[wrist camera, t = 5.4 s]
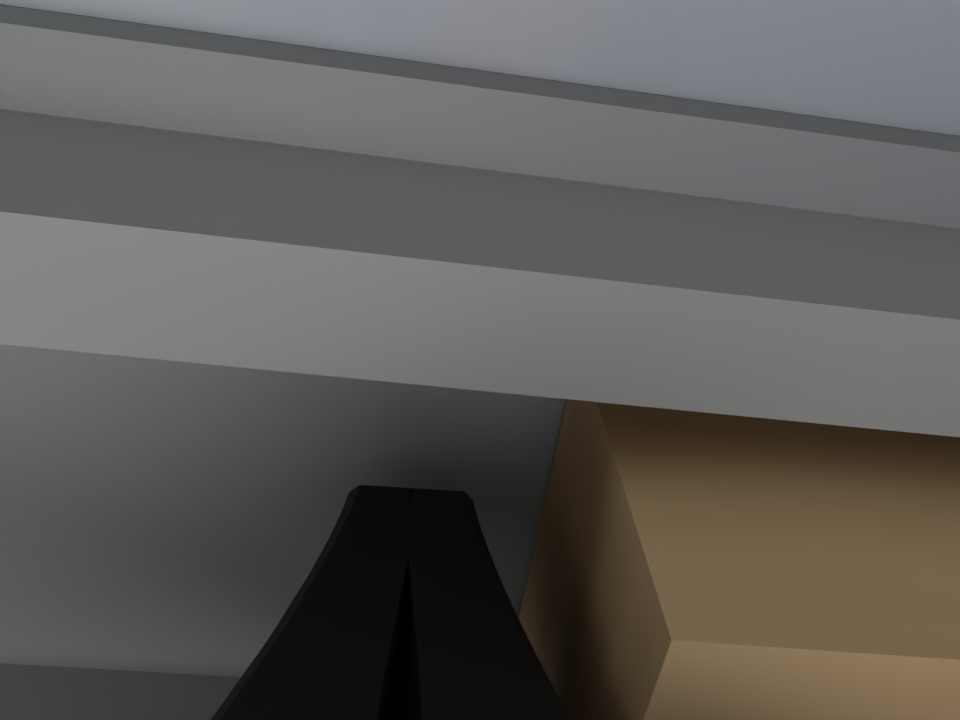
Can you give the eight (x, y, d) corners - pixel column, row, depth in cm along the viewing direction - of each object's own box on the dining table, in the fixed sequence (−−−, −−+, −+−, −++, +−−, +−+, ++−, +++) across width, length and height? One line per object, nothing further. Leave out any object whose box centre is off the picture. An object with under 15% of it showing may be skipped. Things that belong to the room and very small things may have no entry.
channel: (-657, -86, 7) (-1720, -96, 4) (1597, 224, 9) (2271, 399, 6) (-291, 667, 12) (-595, 977, 8) (1149, 749, 14) (1379, 1017, 11)
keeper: (578, 346, 8) (671, 641, 5) (1006, 389, 9) (1361, 687, 6) (508, 662, 11) (538, 1011, 7) (849, 684, 11) (1028, 1022, 8)
